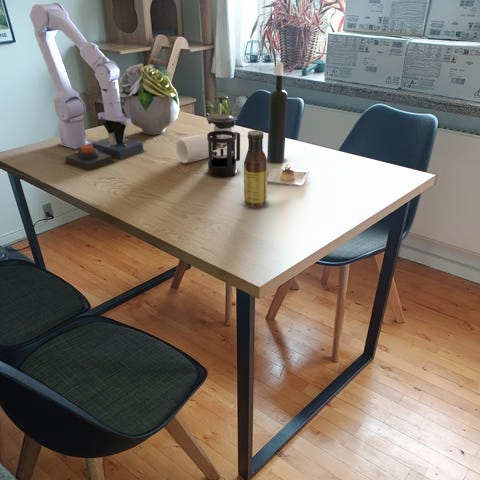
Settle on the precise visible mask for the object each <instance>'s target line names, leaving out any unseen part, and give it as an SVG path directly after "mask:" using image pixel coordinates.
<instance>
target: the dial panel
mask: <svg viewBox="0 0 480 480" xmlns="http://www.w3.org/2000/svg"><path fill="white" fill-rule="evenodd" d="M91 145H92V147H93V148H96V149H97V150H98V152H100V153H104V154H107V155H111V156H112V158H113V159H114V158H115V159H119V160H123V159H125V158H128V157H131V156H134V155H138V154H140V153H143V152H145V150H144V143H143V142H141V141H136V140H132V139H130V138H125V142H123V143H122V144H116V145H111V144H110V141H109V137H108V138H104V139H102V140H99V141H95V142H92V144H91Z"/></svg>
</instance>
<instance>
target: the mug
mask: <svg viewBox="0 0 480 480" xmlns="http://www.w3.org/2000/svg"><path fill="white" fill-rule="evenodd" d="M207 134H208V133H200V134H195V135H190V136H185V137H181V138H178V139H177V141H176V144H175V150H176V155H177V157H178V159H179V161H180V162H181V163H183V164H190V163H193V162H197V161H202V160H207V159H209V151H208V140H207Z"/></svg>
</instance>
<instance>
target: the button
mask: <svg viewBox="0 0 480 480" xmlns="http://www.w3.org/2000/svg"><path fill="white" fill-rule="evenodd" d="M80 149H82V152H83V153H89V152H93V145H92V144H91V145H84V146H82V147H81V148H80Z"/></svg>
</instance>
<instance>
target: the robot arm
mask: <svg viewBox="0 0 480 480" xmlns="http://www.w3.org/2000/svg"><path fill="white" fill-rule="evenodd" d="M29 18H30V21H31V24H32V26H33V29H34V36H35V39H36V42H37V45H38V47H39V50H40V53H41V55H42V58H43V60H44V63H45V66H46V69H47V71H48V74H49V77H50V79H51V81H52V84H53V87H54V90H55V92H56V93H55V95H54V97H53V100H52V101H53V104H54V112H55V114H56V116H57V118H58V119H59V121H58V123H57V129H58V133H59V140H60V142H59V145H60V146H64V147H66V148H71V149H73V150H77V149H78V150H79V149H81V147H82V146H84V145H91V146H92V145H93V144H92V143H93V142H91V141H87V134H86V129H85V123H84V118H85V114H86V111H87V108H86V104H85V102H84V101H83V99H82V98H81V96H80V93H79V92H78V91H76V90H74V89H73V88H72V85H71V82H70V79H69V76H68V74H67V71H66V68H65V65H64V63H63V60H62V57H61V55H60V51H59V49H58V45H57V43H56V41H55V37H56V34H57V32H58V31H59V32H62V33H63V35H65V37H67V38H68V39H69V40H70V41H71V42H72V43H73V44H74V45H75V46H76V47H77V48H78V50H79V55H80V56H81V58H82V59H83V60H84V61H85V62H86V63H87V65H88V66H89V67H90V68H91V69H92V70H93V72H94V76H95V79H96V81H98V84H99V85H98V86H99V87H100V92H101V97H102V105H103V111H104V112H103V111H101V112H97V117H98V120H104V122H102V126H103V127H104V128H105V129H106V131H107V134H109V133H113V132H114V134H115V138H116V142H117V144H122V143H123V135H124V136H125V131H126V128H127V127H128V126H131V125H132V123H131V119H130V118H127V116H126V115H125V113H123V109H121V103H120V95H119V87H118V80H119V79H120V78H121V70H120V67H119V65H118V64H117V62H115V61H114V60H110V59H109V58H108V57H107V56H106V55H104V53H103V52H102V50H100V49H99V46H98V45H97V44H96V43H94V42H92V41H87V39H86V37H84V35H83V34H82V33H81V32H80V30H79V29H78V28H77V26H76V25H75V24H74V23H73V21H72V20H71V19H70V18H69V13H68V11H67V10H66V9H65V8H64V7H63V5H61V3H58V2H51V3H42V4H38V3H37V4H34V5H32V7H31V9H30V13H29Z"/></svg>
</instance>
